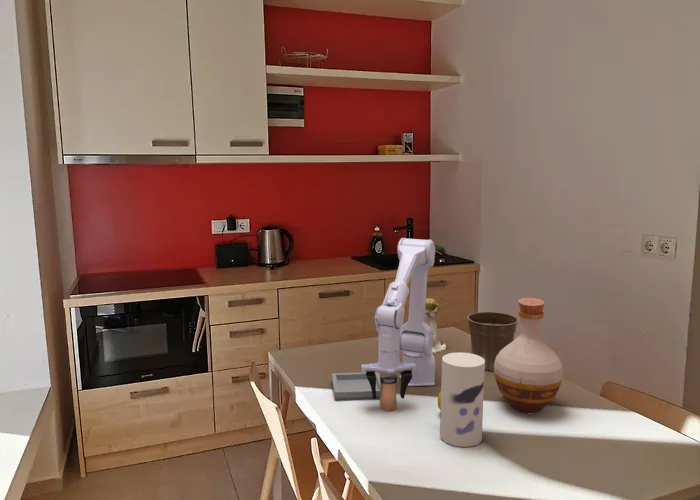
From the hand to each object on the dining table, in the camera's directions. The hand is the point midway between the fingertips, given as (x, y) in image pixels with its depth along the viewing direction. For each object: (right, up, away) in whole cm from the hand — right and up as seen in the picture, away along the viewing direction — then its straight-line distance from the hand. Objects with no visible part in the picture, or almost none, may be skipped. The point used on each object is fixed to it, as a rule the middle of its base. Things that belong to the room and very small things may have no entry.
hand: (388, 397), depth 153 cm
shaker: (0, -3, 0) cm, 3 cm away
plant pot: (+36, +2, +34) cm, 49 cm away
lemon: (+16, -4, -4) cm, 16 cm away
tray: (-8, -1, +13) cm, 15 cm away
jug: (+38, -3, +2) cm, 38 cm away
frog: (+18, +4, +50) cm, 53 cm away
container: (+17, -6, -16) cm, 24 cm away
